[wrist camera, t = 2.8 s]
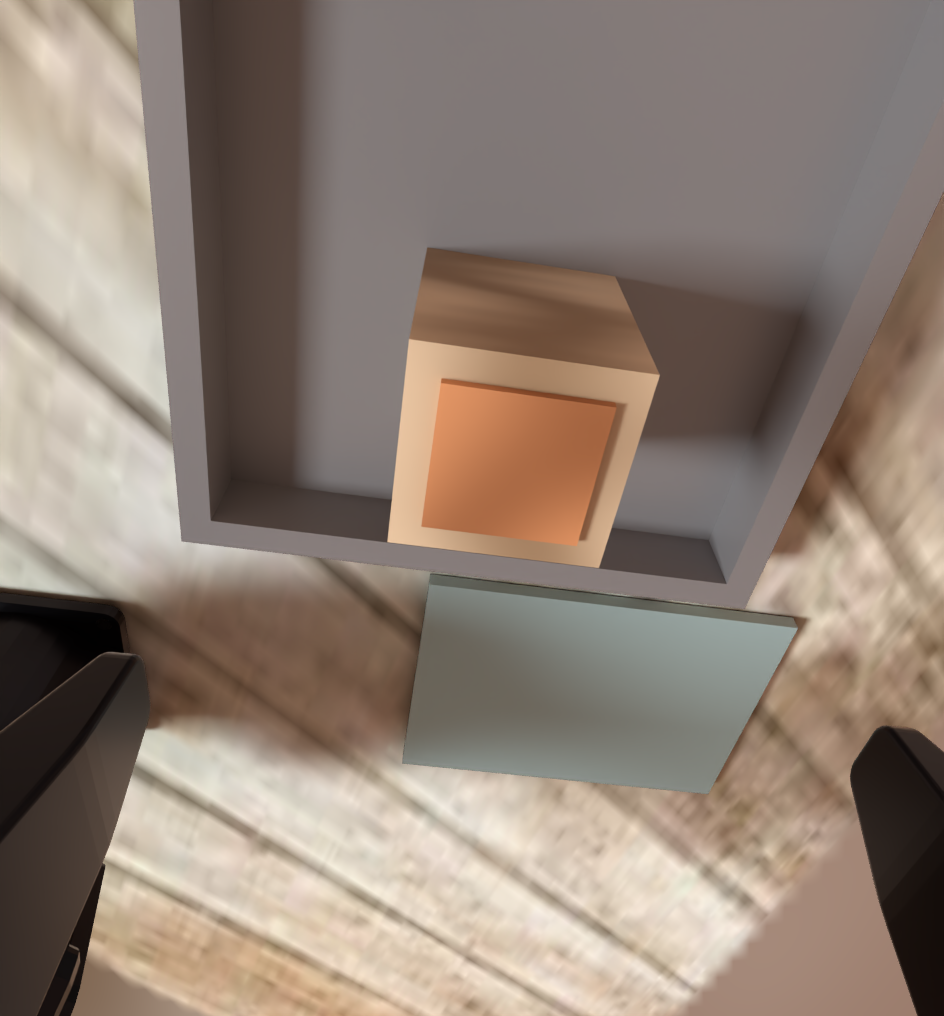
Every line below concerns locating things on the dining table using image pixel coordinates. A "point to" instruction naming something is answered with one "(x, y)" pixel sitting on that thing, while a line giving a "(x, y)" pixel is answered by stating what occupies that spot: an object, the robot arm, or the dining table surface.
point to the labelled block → (518, 410)
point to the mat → (585, 684)
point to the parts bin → (529, 244)
